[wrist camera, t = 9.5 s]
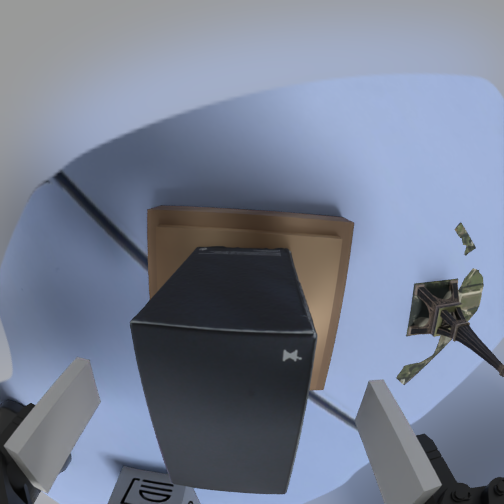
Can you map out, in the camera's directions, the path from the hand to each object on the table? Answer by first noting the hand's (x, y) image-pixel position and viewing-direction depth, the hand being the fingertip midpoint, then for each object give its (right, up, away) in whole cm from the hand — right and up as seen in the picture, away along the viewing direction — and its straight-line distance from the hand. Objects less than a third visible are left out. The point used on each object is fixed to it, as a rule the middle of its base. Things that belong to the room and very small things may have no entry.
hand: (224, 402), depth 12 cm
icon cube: (-12, -29, +20) cm, 37 cm away
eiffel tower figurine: (+19, +1, +13) cm, 23 cm away
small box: (0, +2, +8) cm, 8 cm away
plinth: (+1, +3, +12) cm, 12 cm away
